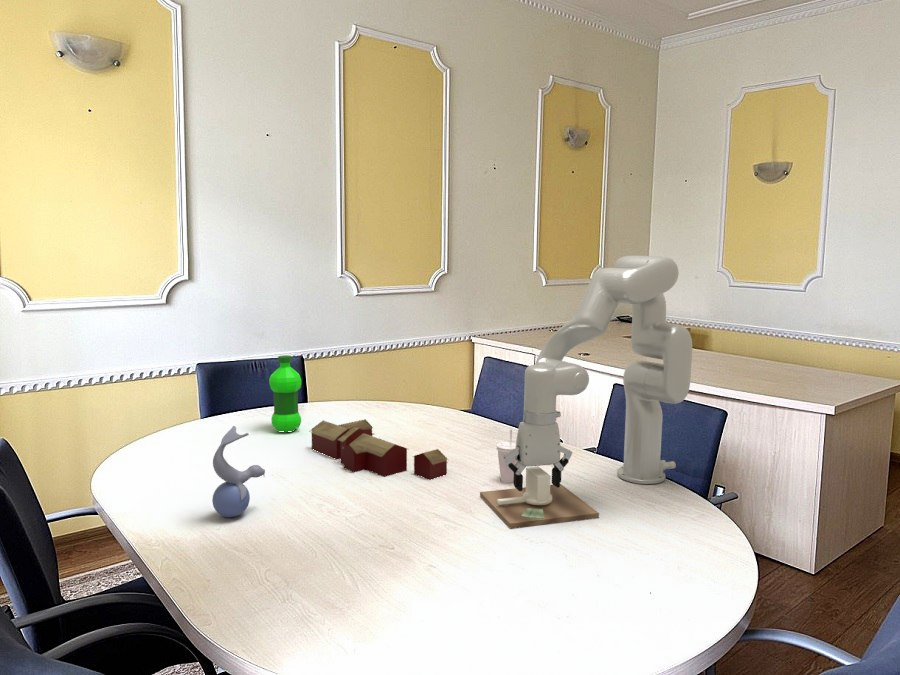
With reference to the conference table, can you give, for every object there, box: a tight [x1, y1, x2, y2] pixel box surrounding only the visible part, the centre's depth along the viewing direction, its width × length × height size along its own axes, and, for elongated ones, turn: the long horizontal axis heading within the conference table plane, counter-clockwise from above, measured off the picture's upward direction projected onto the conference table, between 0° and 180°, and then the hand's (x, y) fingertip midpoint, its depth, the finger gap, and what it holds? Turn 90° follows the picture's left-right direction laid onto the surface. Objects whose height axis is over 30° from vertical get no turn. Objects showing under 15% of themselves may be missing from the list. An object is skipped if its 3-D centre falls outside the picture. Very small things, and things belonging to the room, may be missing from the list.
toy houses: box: [308, 418, 449, 481], centre depth 198 cm, size 45×20×10 cm, turn 43°
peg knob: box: [497, 466, 552, 505], centre depth 165 cm, size 14×7×7 cm, turn 107°
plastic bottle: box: [268, 354, 302, 432], centre depth 228 cm, size 10×10×25 cm
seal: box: [212, 425, 266, 518], centre depth 159 cm, size 8×12×20 cm
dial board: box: [479, 483, 600, 530], centre depth 166 cm, size 22×20×1 cm
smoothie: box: [496, 428, 517, 484], centre depth 183 cm, size 6×6×14 cm
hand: (537, 487), depth 166 cm, fingers open, 9 cm apart
